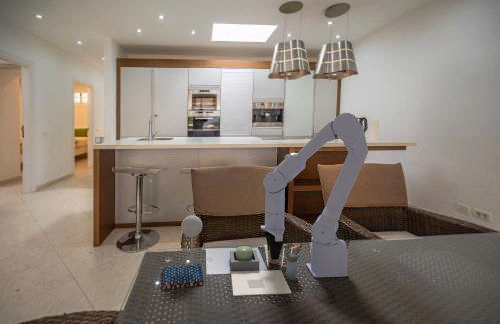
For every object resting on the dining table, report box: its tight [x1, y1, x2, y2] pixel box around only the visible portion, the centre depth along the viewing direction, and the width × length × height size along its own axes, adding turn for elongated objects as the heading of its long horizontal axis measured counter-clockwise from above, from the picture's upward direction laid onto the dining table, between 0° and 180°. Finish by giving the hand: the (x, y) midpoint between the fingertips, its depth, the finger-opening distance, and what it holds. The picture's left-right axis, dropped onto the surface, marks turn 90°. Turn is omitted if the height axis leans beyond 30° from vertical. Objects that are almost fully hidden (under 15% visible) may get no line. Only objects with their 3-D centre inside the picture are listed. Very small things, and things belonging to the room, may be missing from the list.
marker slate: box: [285, 253, 298, 281], centre depth 79 cm, size 3×3×6 cm
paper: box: [230, 269, 292, 297], centre depth 76 cm, size 14×12×1 cm
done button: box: [235, 245, 253, 261], centre depth 87 cm, size 5×5×3 cm
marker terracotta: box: [268, 247, 279, 265], centre depth 89 cm, size 3×3×7 cm
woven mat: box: [160, 263, 205, 290], centre depth 78 cm, size 10×11×2 cm
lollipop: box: [180, 214, 204, 265], centre depth 84 cm, size 6×6×15 cm
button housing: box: [229, 249, 260, 272], centre depth 87 cm, size 8×8×2 cm
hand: (273, 256), depth 89 cm, fingers open, 3 cm apart
